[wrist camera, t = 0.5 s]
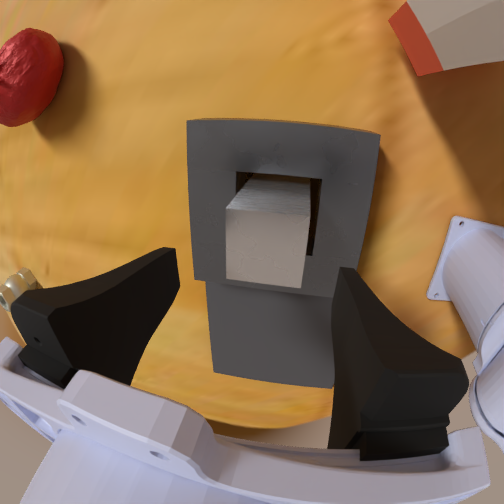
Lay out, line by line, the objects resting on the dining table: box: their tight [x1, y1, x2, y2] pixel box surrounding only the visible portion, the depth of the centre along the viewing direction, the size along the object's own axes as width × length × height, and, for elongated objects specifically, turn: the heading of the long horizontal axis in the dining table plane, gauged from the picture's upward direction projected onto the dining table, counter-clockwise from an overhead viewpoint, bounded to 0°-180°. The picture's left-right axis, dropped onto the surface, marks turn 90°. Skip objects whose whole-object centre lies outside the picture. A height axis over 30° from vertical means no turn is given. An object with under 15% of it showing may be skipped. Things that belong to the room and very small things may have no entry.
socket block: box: [187, 118, 380, 298], centre depth 20 cm, size 12×12×3 cm
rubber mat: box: [205, 281, 335, 389], centre depth 27 cm, size 14×14×1 cm
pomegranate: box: [0, 28, 64, 127], centre depth 14 cm, size 10×10×9 cm
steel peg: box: [226, 173, 310, 288], centre depth 18 cm, size 4×4×8 cm
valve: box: [0, 267, 36, 312], centre depth 32 cm, size 7×7×12 cm
